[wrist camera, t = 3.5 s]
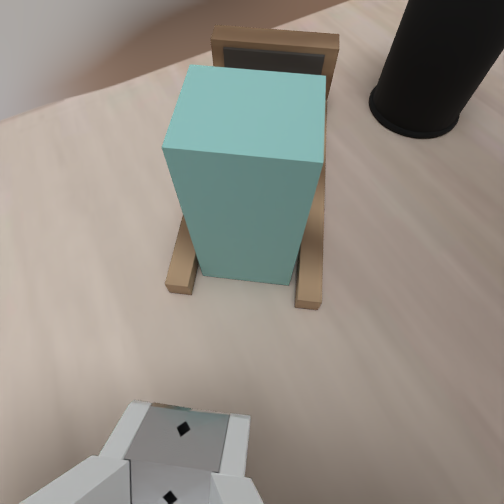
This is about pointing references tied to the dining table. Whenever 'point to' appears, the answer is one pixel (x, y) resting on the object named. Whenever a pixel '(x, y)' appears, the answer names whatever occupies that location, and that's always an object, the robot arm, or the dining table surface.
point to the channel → (323, 63)
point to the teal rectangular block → (247, 167)
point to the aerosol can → (437, 64)
